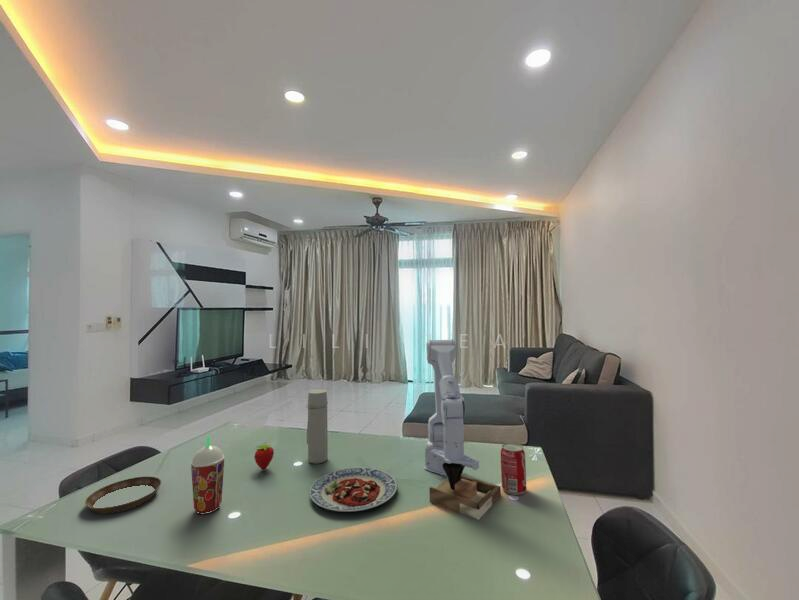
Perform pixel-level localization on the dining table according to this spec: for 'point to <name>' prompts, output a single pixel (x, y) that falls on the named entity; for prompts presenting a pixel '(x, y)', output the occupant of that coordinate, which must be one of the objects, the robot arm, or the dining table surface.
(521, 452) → the soda can
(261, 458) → the strawberry
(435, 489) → the wooden compartment tray
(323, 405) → the water bottle
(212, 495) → the smoothie
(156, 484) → the oval wooden ring
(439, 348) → the robot arm
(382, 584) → the dining table surface
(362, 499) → the ceramic plate
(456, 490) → the block
